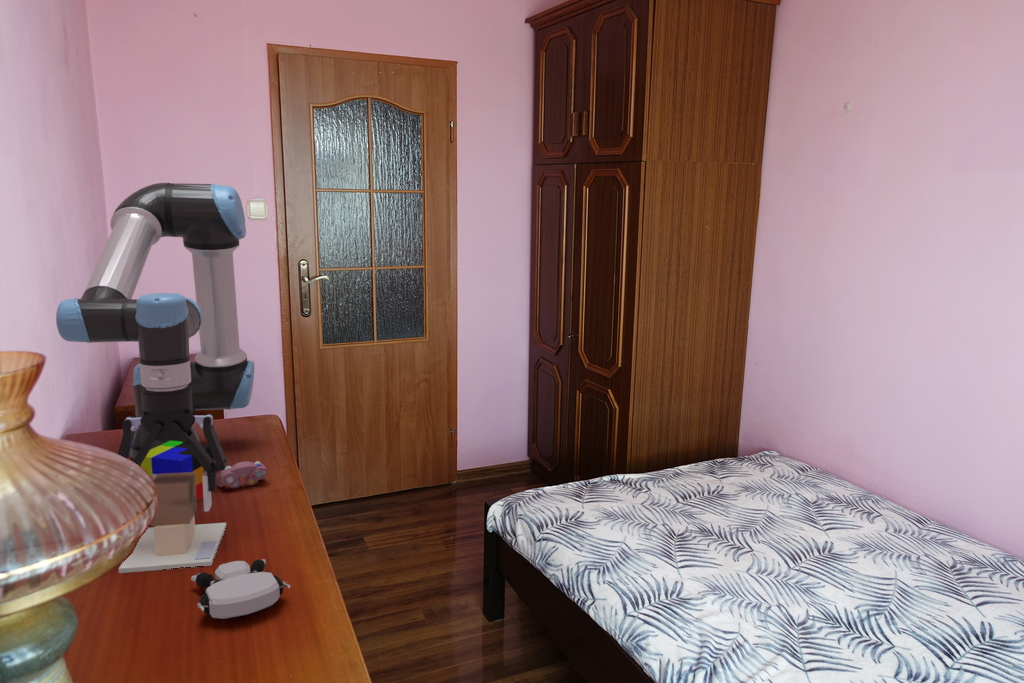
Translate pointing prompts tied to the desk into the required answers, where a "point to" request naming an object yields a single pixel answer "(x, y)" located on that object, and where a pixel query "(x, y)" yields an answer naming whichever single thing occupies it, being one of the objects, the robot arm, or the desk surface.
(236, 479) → the video game controller
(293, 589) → the desk surface
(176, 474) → the walnut block
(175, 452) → the puzzle toy
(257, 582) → the robot toy
